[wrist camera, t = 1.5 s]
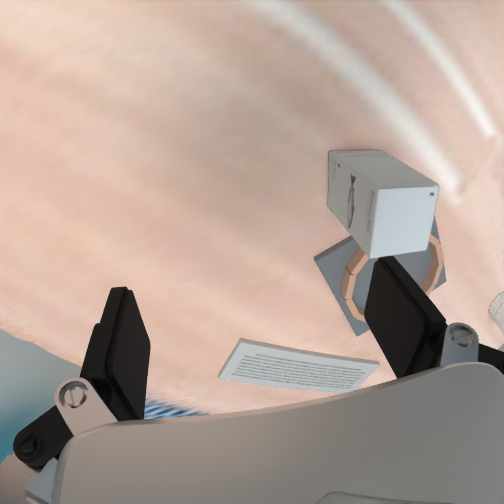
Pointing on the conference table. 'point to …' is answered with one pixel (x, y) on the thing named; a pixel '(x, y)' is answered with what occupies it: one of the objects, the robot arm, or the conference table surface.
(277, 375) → the plaque
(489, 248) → the conference table surface
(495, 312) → the white cup
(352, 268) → the ring holder
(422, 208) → the supplement box
